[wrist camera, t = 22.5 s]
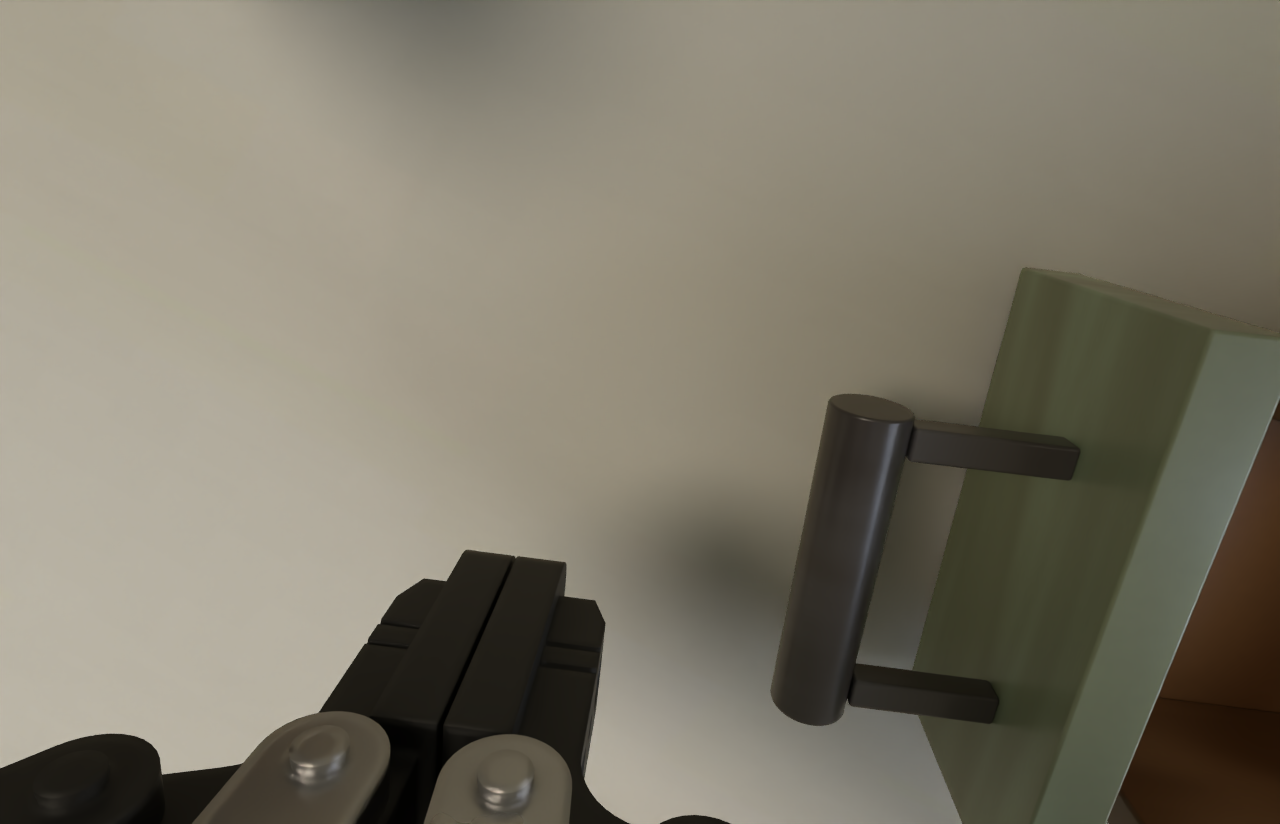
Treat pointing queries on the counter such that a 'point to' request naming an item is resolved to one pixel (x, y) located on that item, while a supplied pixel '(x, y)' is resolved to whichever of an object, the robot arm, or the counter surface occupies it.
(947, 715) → the drawer
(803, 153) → the counter surface
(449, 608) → the robot arm
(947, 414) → the counter surface
